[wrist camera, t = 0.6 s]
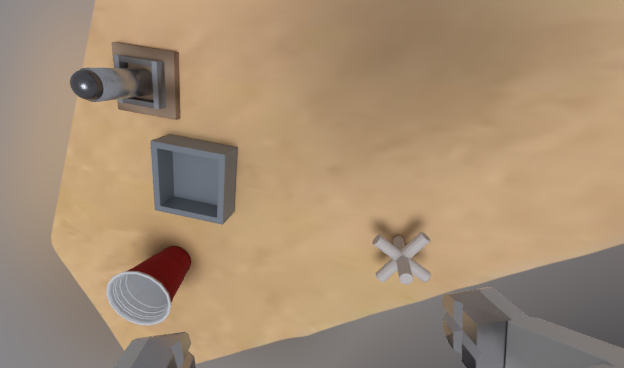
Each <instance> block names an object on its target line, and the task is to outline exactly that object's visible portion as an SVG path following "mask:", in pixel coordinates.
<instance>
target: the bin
mask: <svg viewBox="0 0 624 368" xmlns="http://www.w3.org/2000/svg"><path fill="white" fill-rule="evenodd" d="M237 150H238V147H234V146H228V145H223V144H218V143H212V142H207V141H202V140H196V139H191V138H186V137H180V136H175V135H170V134H169V135H166V136H163V137H160V138H157V139H154V140H151V155H152V171H153V187H154V203H155V210H157V211H162V212H167V213H171V214H176V215H181V216H185V217H190V218H195V219H199V220H204V221H209V222H213V223H218V224H224V223H225V222H226V220H227V219H228V218H229V217H230V216H231V215H232V214H233V213H234V209H235V189H236V170H237Z"/></svg>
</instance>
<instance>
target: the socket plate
mask: <svg viewBox="0 0 624 368" xmlns="http://www.w3.org/2000/svg"><path fill="white" fill-rule="evenodd" d="M112 51H113V61H114V68H144V69H147V70H149V71H150V72H151V73H152V81H153V94H152V95H148V96H140V97H132V98H123V99H117V101H118V109H120V110H125V111H130V112H136V113H141V114H147V115H152V116H158V117H163V118H169V119H174V120H177V119H180V93H179V52H173V51H167V50H160V49H154V48H148V47H142V46H135V45H129V44H123V43H116V42H112Z"/></svg>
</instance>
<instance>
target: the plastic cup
mask: <svg viewBox="0 0 624 368" xmlns="http://www.w3.org/2000/svg"><path fill="white" fill-rule="evenodd" d="M190 264H191V259H190V256H189V255H188V253H187V252H186V251H185V250H184V249H182V248H180V247H176V246H172V247H169V248H166V249H164V250H163V251H161V252H160V253H158V254H156V255H154V256H152V257H150V258H149V259H147V260H145V261H144V262H142V263H141V264H139V265H137V266H136V267H134V268H132V269H130V270H128V271H125V272H122V273H120V274H117V275H115V276H114V277H113V278H112V279H111V280H110V281H109V283H108V284H107V292H106V294H107V297H108V300H109V303H110V305H111V306H112V307H113V309H114V310H115V311H116V312H117V314H119V315H120V316H122V317H123V318H125V319H126V320H128V321H130V322H133V323H136V324H139V325H154V324H157V323H160V322H162V321H163V320H164V319H165V318H166V317H167V316H168V315H169V312H170V308H171V302H172V300H173V297H174V295H175V294H176V292H177V290H178V288H179V286H180V285H181V283H182V281H183V279H184V276H185V275H186V273H187V271H188V269H189V267H190Z"/></svg>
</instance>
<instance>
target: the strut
mask: <svg viewBox="0 0 624 368" xmlns="http://www.w3.org/2000/svg"><path fill="white" fill-rule="evenodd" d="M70 85H71V88H72V90H73V91H74V93H75V94H76V95H78V96H79V97H81V98H83V99H86V100H89V101H92V102H98V101H107V100H115V99H123V98H132V97H140V96H148V95H152V94H153V81H152V73H151V72H150V71H149V70H147V69H144V68H82V69H80V70H79V71H77V72H75V73H74V74H73V75H72V76H71V79H70Z"/></svg>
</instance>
